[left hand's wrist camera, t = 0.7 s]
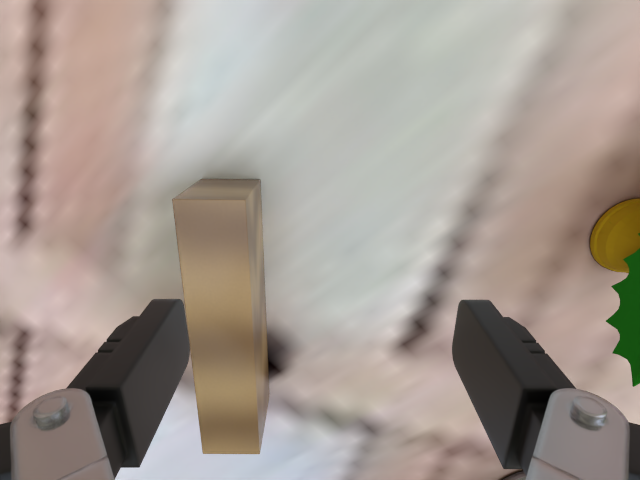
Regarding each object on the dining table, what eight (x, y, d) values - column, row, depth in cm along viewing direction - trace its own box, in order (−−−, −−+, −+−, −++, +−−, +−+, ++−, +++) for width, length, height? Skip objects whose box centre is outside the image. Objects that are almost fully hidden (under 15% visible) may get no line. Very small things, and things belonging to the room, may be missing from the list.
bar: (201, 178, 38) (171, 199, 30) (260, 179, 38) (245, 199, 30) (221, 395, 47) (202, 453, 39) (269, 396, 47) (259, 454, 39)
